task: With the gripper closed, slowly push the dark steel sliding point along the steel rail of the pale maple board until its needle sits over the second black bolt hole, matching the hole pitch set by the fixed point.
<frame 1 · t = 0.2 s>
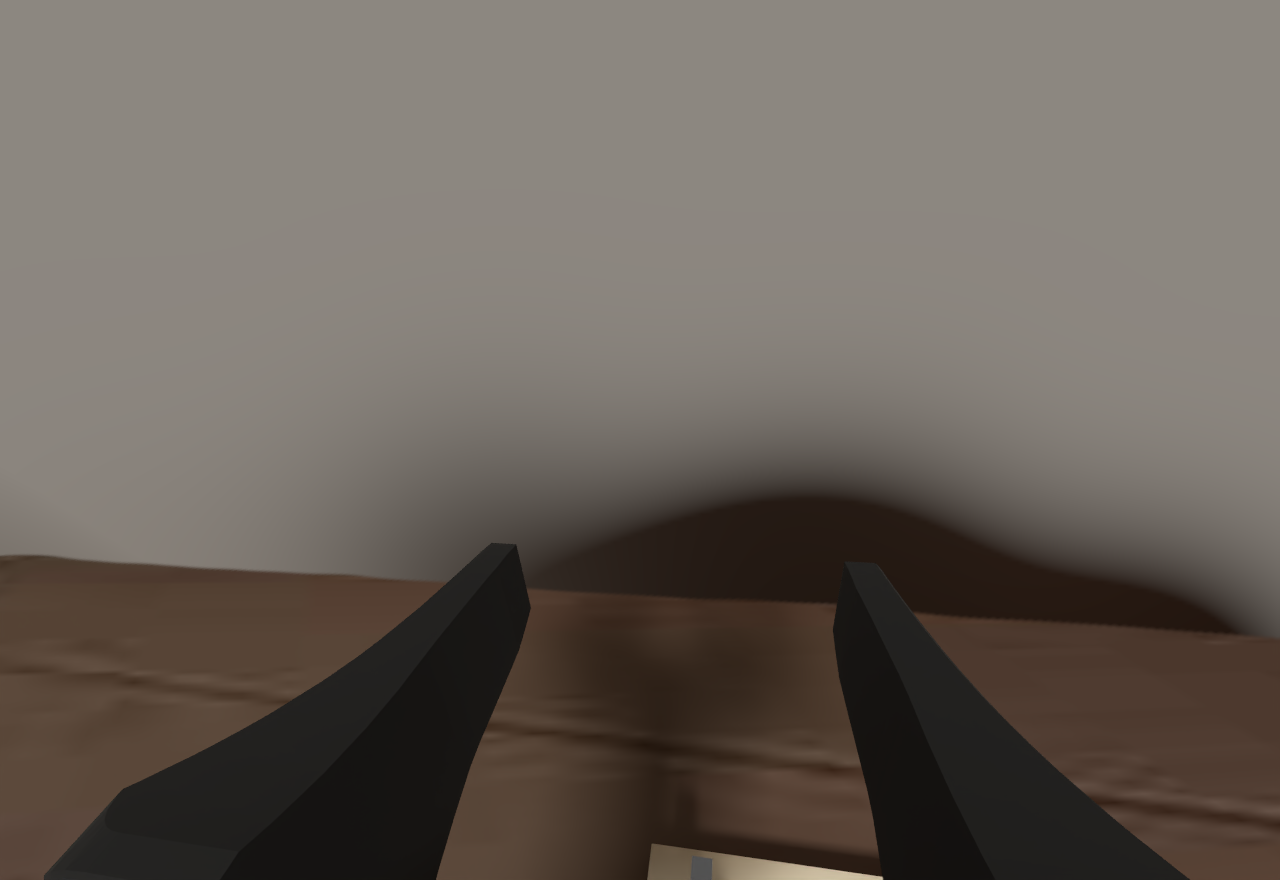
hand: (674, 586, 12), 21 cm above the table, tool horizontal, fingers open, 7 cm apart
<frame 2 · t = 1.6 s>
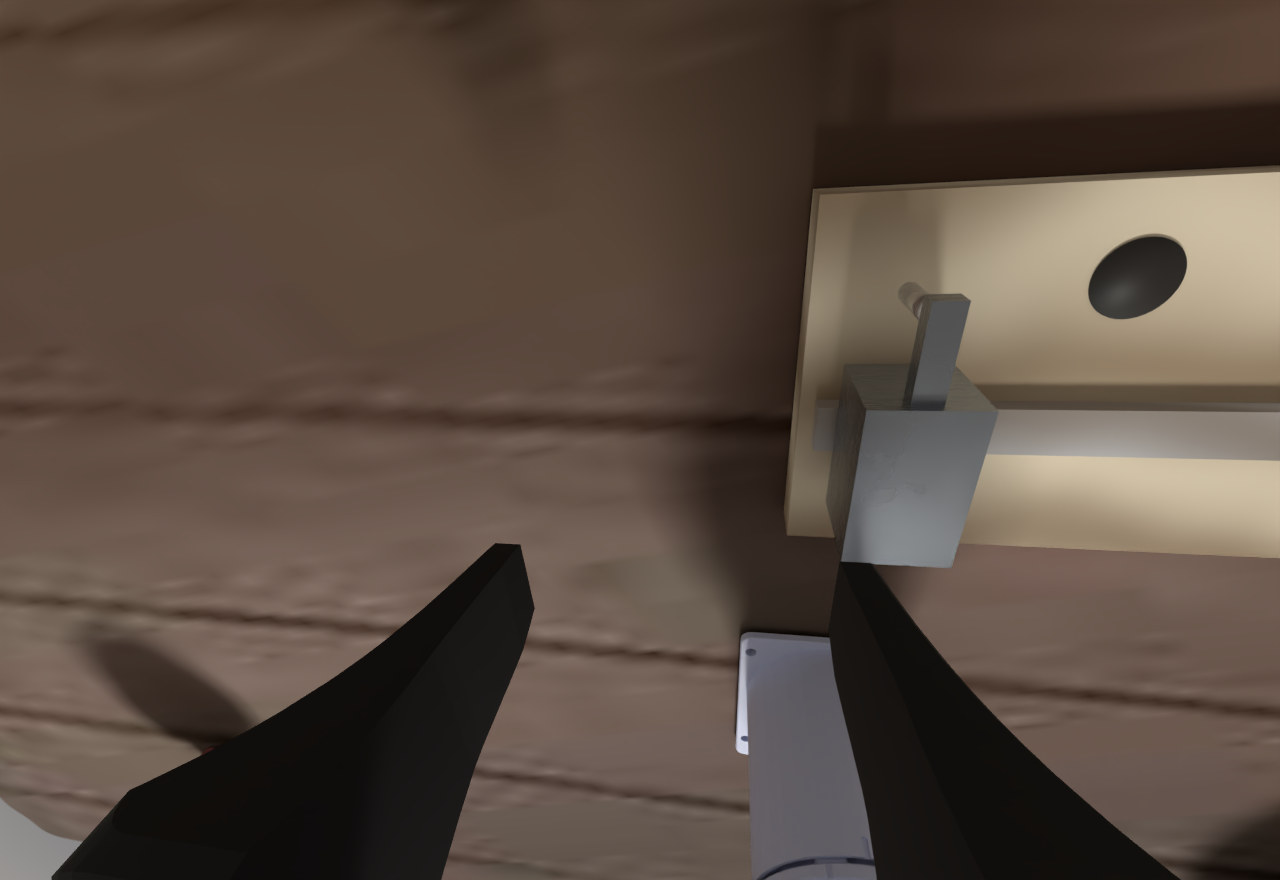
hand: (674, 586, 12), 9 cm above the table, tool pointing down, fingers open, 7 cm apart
sliding point: (905, 424, 15), point 4 cm above the table, slide at 0.0 cm
hole board: (1167, 376, 17), on the table
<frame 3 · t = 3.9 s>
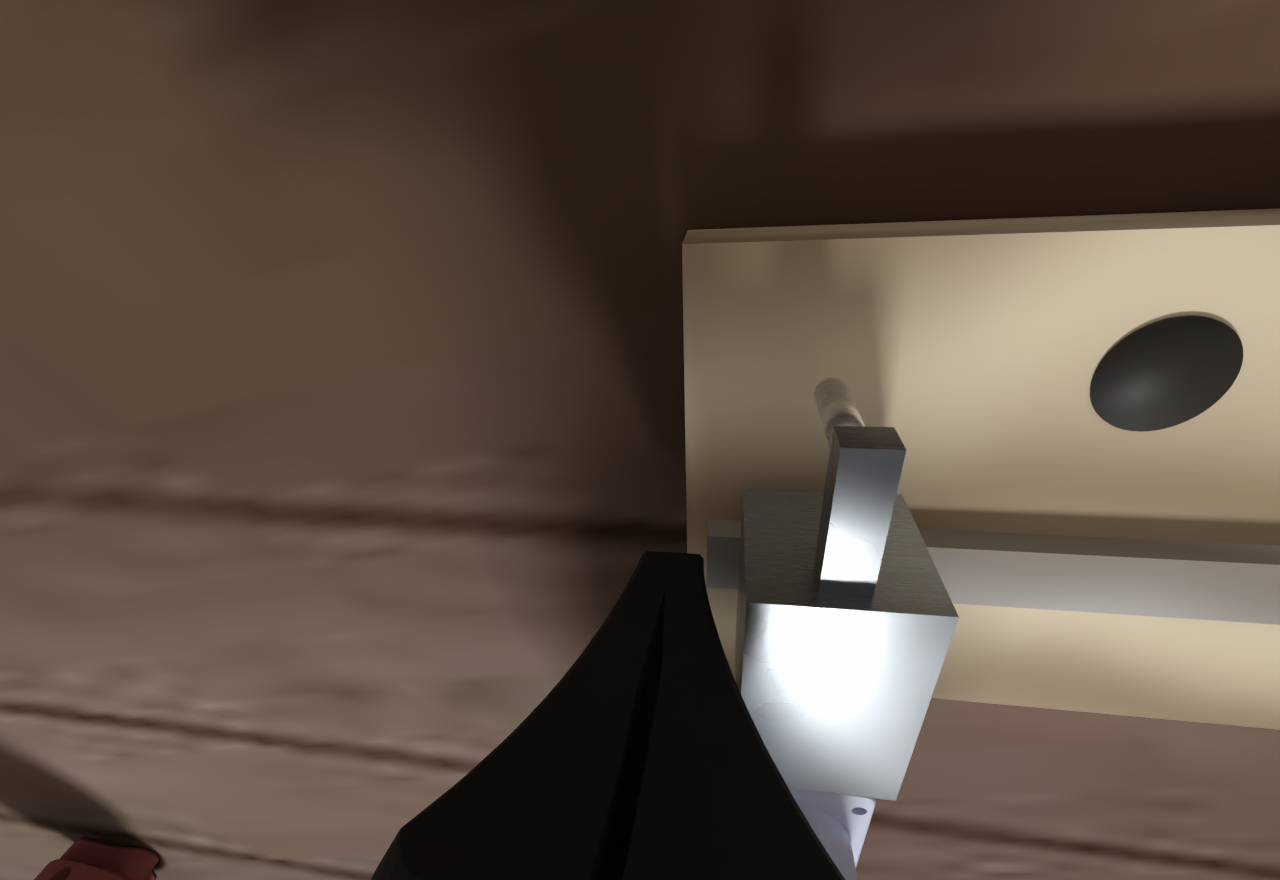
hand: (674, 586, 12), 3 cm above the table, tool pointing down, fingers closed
sliding point: (825, 592, 10), point 4 cm above the table, slide at 0.2 cm, touching gripper
mechanical component: (132, 853, 36), on the table
hole board: (1200, 492, 12), on the table
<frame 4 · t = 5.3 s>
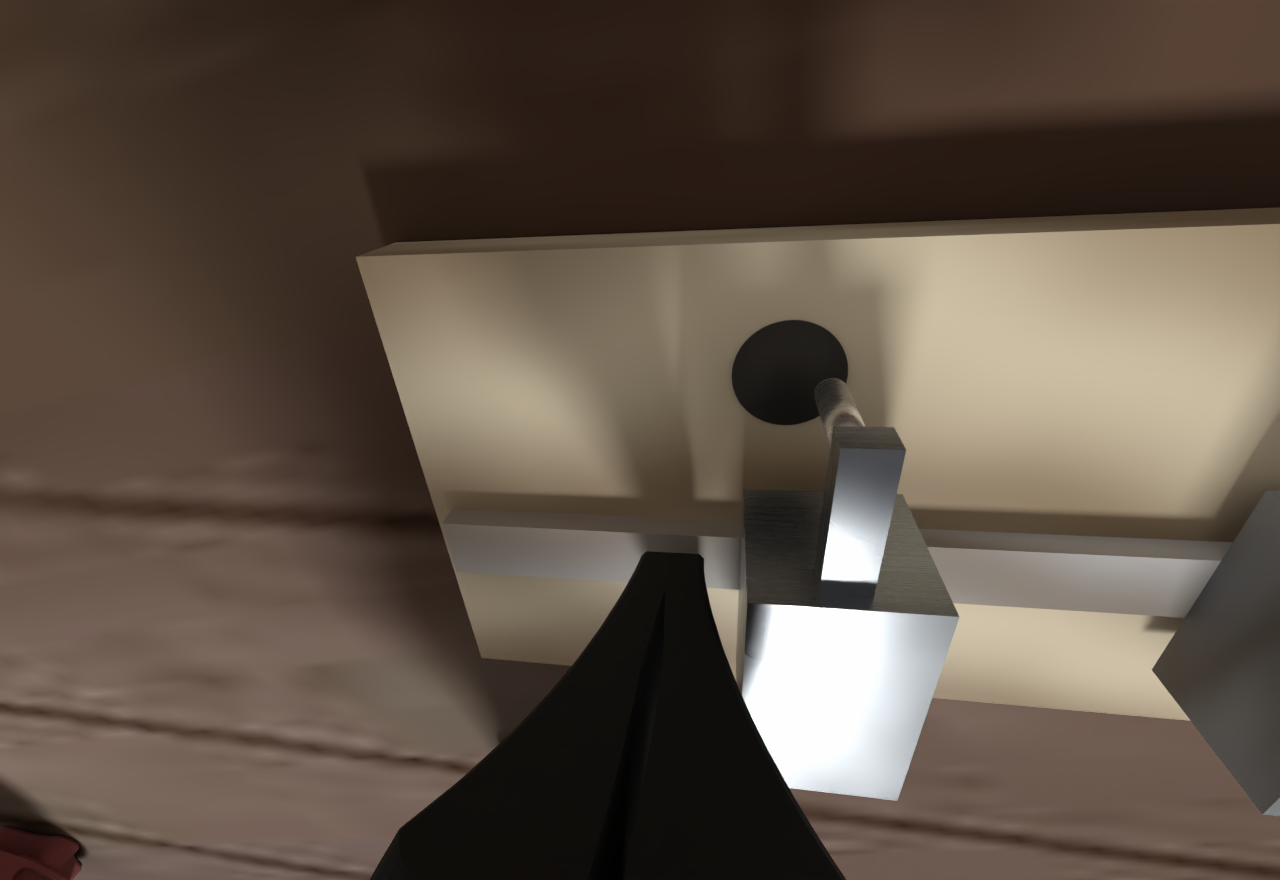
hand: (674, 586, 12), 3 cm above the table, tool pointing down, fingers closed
sliding point: (825, 592, 10), point 4 cm above the table, slide at 6.7 cm, touching gripper
mechanical component: (55, 841, 37), on the table
hole board: (898, 482, 13), on the table
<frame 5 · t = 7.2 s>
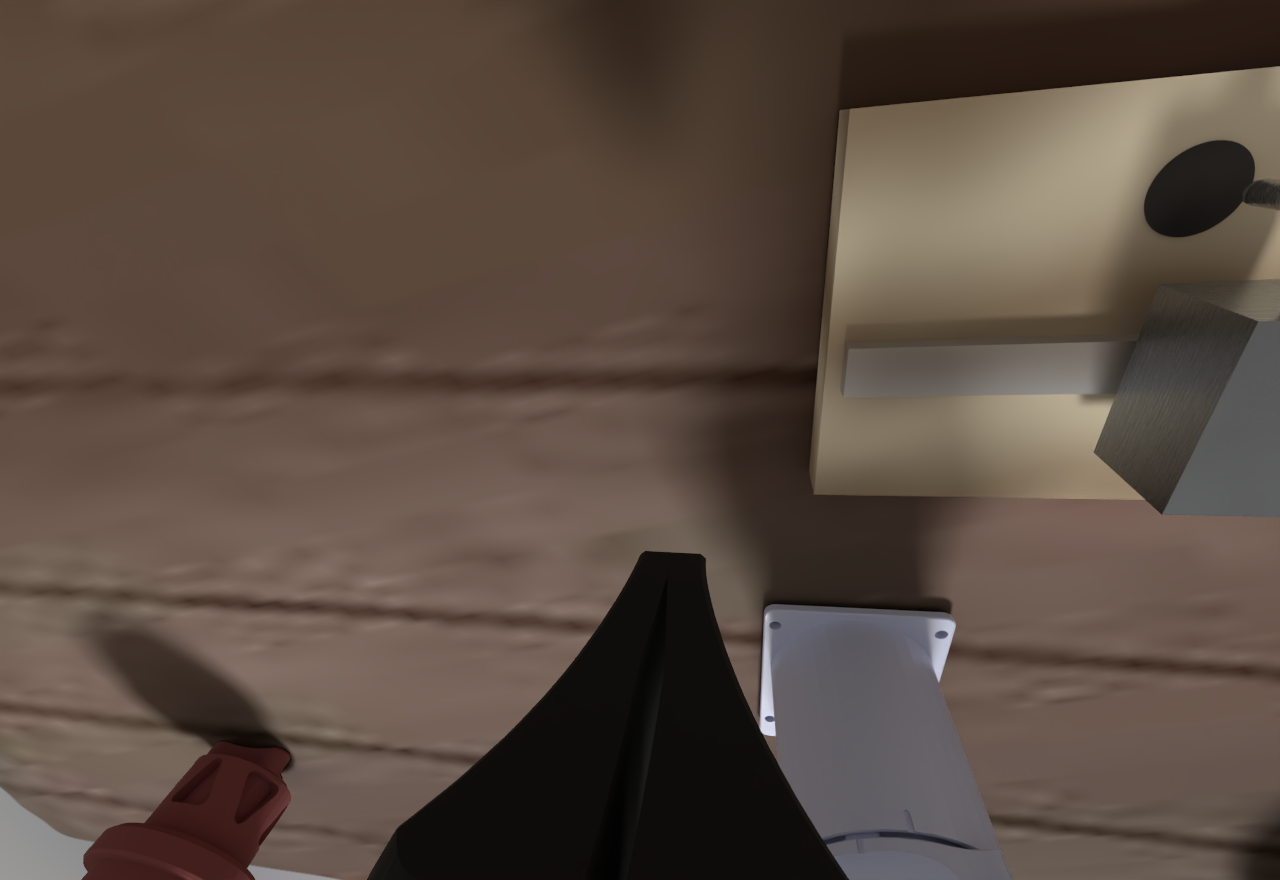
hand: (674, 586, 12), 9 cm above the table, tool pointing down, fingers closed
sliding point: (1255, 348, 13), point 4 cm above the table, slide at 6.7 cm
mechanical component: (263, 755, 40), on the table
hole board: (1226, 306, 16), on the table
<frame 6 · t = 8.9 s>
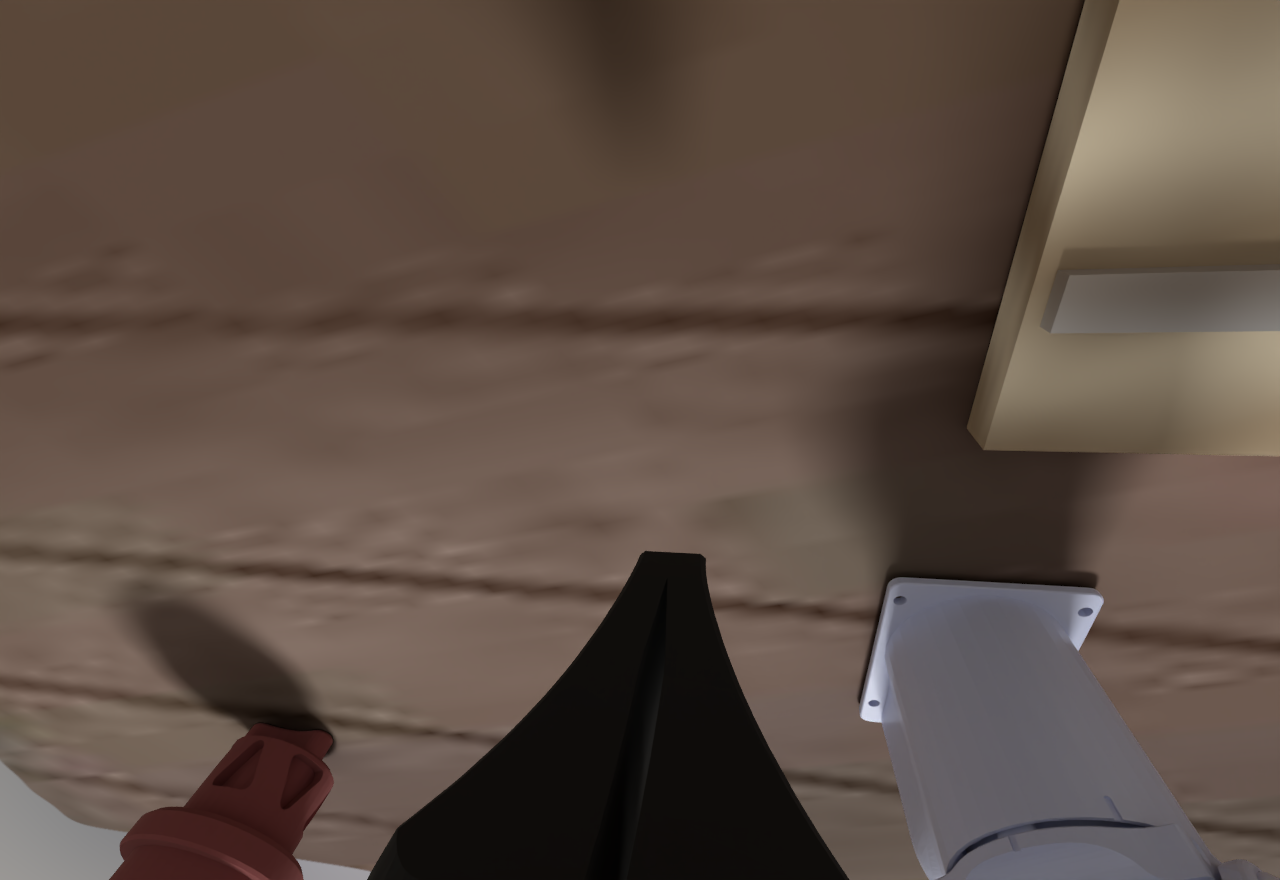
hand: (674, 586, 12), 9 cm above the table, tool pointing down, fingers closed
mechanical component: (302, 739, 38), on the table
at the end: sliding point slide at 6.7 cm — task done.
